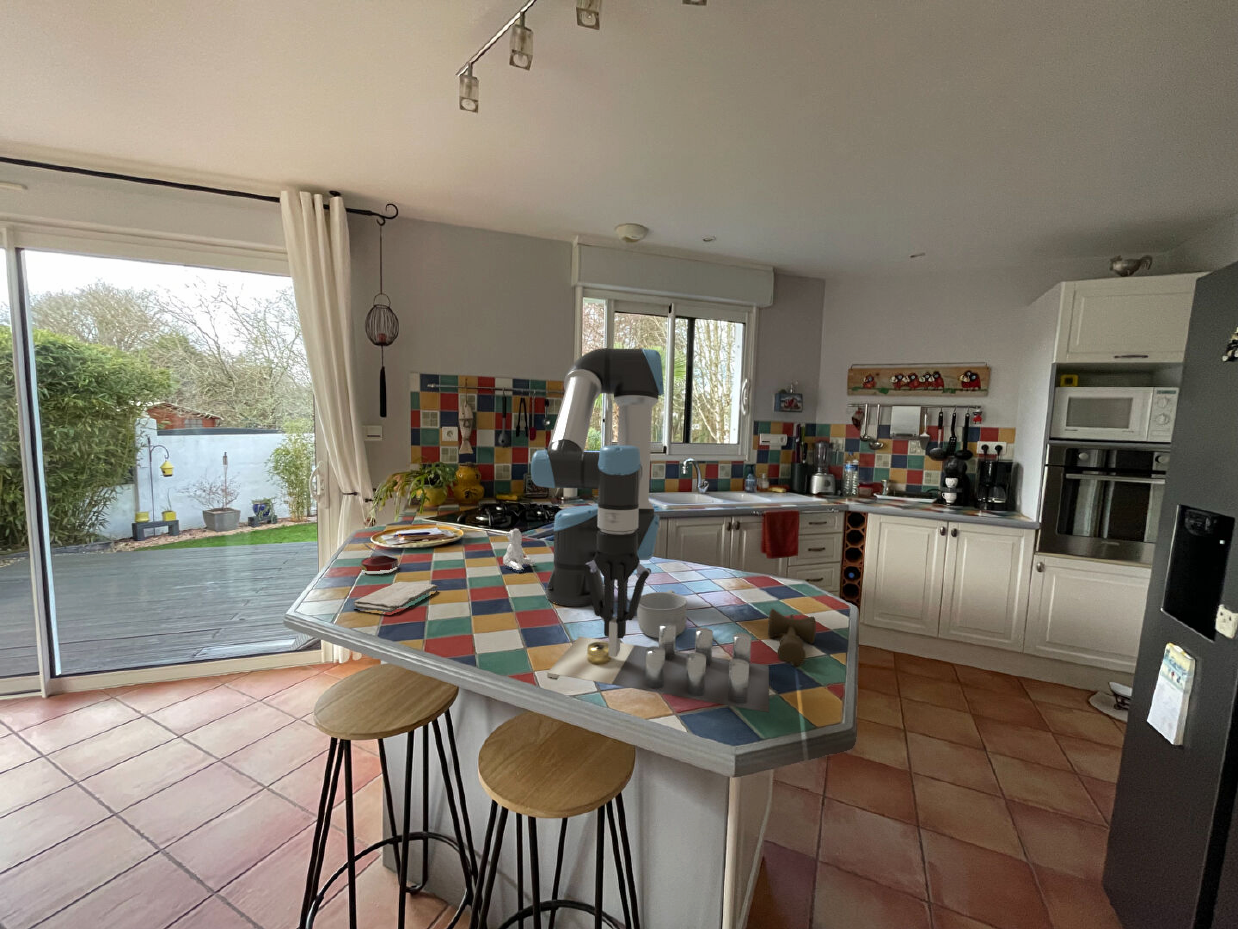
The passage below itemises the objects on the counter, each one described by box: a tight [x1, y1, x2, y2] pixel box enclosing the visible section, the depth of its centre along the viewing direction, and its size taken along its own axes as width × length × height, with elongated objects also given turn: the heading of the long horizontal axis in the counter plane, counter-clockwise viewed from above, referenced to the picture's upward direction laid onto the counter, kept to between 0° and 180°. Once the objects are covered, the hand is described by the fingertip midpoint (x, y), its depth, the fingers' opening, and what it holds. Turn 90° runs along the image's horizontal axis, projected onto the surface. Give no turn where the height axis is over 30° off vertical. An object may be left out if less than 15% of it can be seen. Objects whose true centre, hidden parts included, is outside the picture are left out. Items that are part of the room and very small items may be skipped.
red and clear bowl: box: [360, 542, 399, 571], centre depth 150 cm, size 11×10×10 cm
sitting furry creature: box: [502, 528, 536, 570], centre depth 155 cm, size 10×9×12 cm
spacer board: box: [546, 636, 770, 713], centre depth 93 cm, size 38×16×1 cm, turn 74°
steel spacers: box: [645, 623, 752, 704], centre depth 91 cm, size 17×14×6 cm
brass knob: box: [587, 642, 611, 665], centre depth 96 cm, size 4×4×2 cm
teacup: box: [636, 589, 688, 640], centre depth 111 cm, size 14×11×8 cm
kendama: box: [767, 608, 817, 667], centre depth 106 cm, size 6×10×20 cm
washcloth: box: [352, 581, 439, 613], centre depth 126 cm, size 12×18×3 cm, turn 166°
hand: (614, 653), depth 96 cm, fingers closed
